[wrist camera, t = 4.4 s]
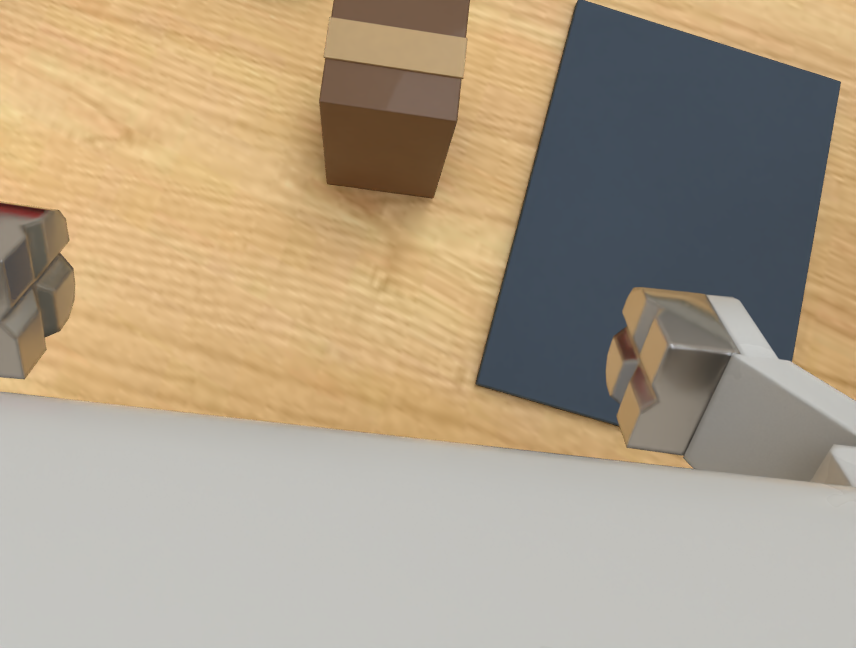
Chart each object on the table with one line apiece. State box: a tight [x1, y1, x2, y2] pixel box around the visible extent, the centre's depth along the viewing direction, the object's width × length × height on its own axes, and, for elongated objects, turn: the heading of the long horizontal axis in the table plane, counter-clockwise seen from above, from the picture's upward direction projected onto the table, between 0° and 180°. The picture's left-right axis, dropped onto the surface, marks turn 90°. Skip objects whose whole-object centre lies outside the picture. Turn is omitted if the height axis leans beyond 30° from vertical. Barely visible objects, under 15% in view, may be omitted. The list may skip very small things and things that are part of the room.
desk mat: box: [476, 0, 841, 426], centre depth 35 cm, size 20×14×1 cm
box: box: [319, 0, 470, 198], centre depth 31 cm, size 5×5×8 cm
